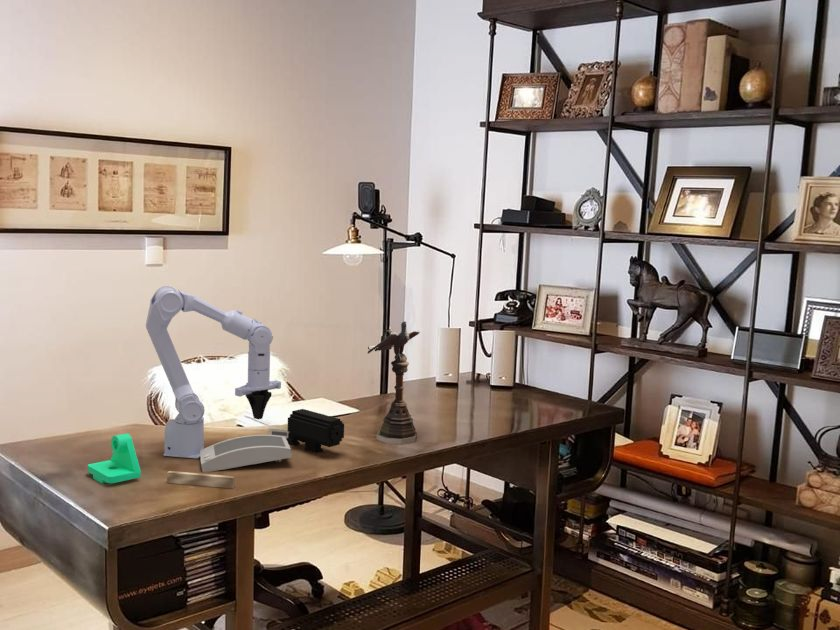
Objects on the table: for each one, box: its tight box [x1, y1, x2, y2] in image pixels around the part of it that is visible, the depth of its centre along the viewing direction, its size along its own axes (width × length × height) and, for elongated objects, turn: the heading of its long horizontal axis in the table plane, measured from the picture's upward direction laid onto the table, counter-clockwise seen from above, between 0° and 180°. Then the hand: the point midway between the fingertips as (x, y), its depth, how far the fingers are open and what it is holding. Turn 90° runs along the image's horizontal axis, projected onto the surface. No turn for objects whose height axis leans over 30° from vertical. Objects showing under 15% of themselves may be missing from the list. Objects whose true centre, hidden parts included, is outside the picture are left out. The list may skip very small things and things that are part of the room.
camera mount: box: [87, 432, 142, 484], centre depth 199 cm, size 12×8×10 cm, turn 46°
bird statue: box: [367, 321, 421, 446], centre depth 242 cm, size 17×13×35 cm
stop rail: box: [166, 470, 236, 489], centre depth 197 cm, size 16×1×2 cm, turn 82°
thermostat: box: [199, 434, 293, 473], centre depth 215 cm, size 11×22×6 cm, turn 106°
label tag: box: [268, 427, 288, 438], centre depth 235 cm, size 6×1×4 cm, turn 83°
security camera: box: [286, 408, 345, 454], centre depth 228 cm, size 7×18×10 cm, turn 51°
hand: (258, 418), depth 227 cm, fingers closed
